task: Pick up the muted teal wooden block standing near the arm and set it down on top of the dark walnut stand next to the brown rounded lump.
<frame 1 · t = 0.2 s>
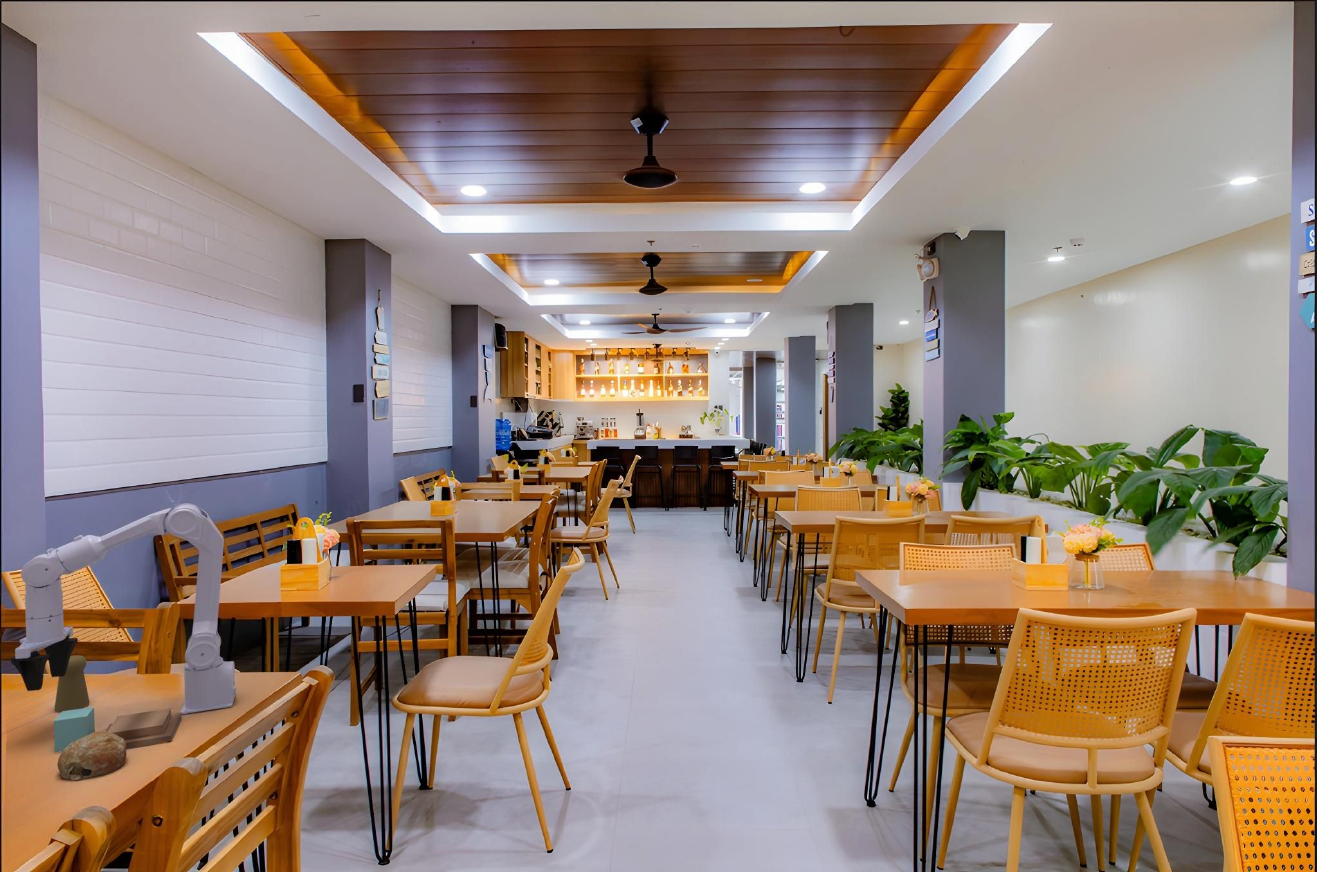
hand: (46, 682, 144), 10 cm above the table, tool pointing down, fingers open, 7 cm apart
teal block: (75, 744, 139), on the table
brown rounded lump: (94, 768, 130), on the table
walnut stand: (140, 735, 142), on the table
cork: (72, 708, 157), on the table
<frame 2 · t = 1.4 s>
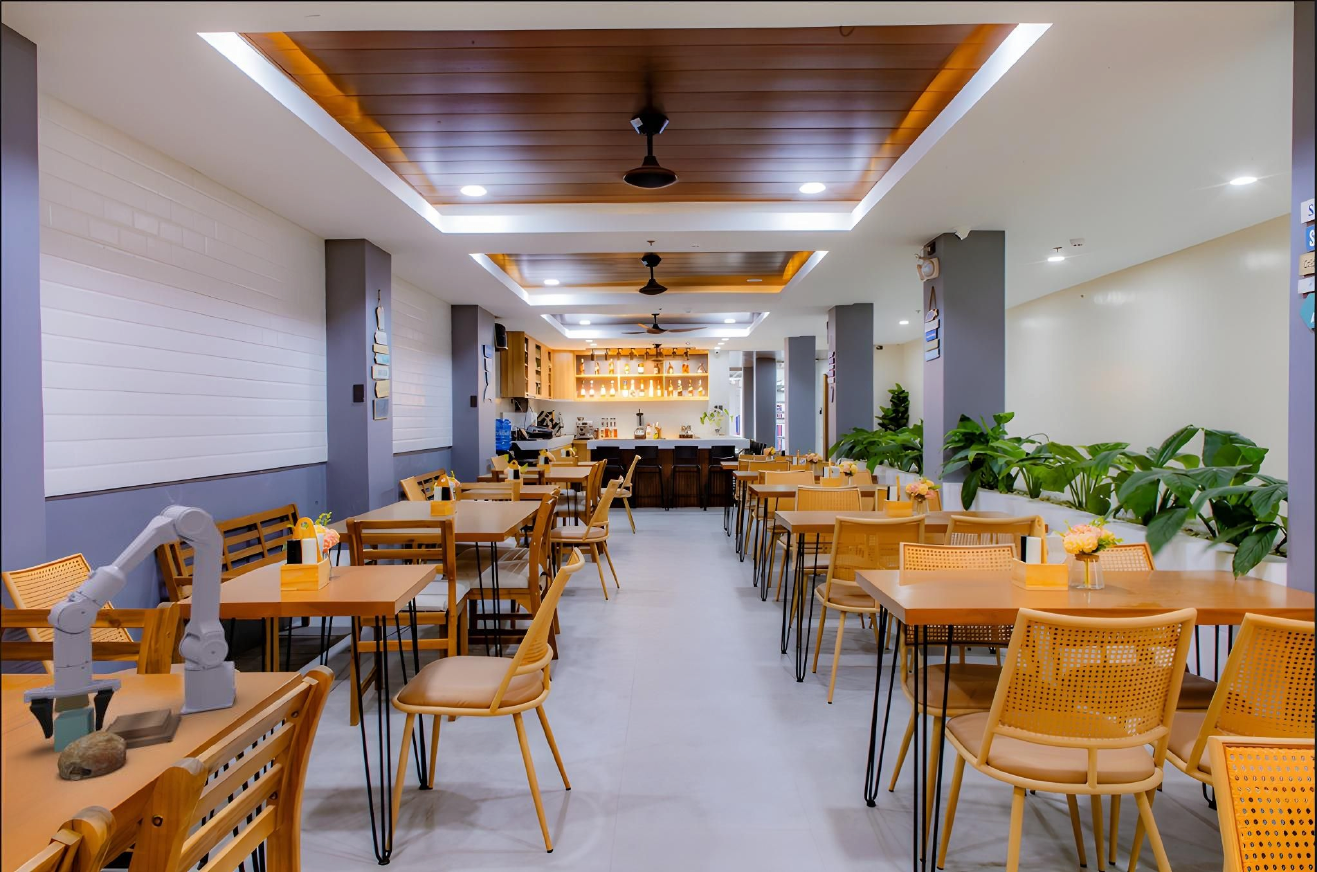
hand: (74, 732, 139), 2 cm above the table, tool pointing down, fingers open, 7 cm apart
nothing on the table moved.
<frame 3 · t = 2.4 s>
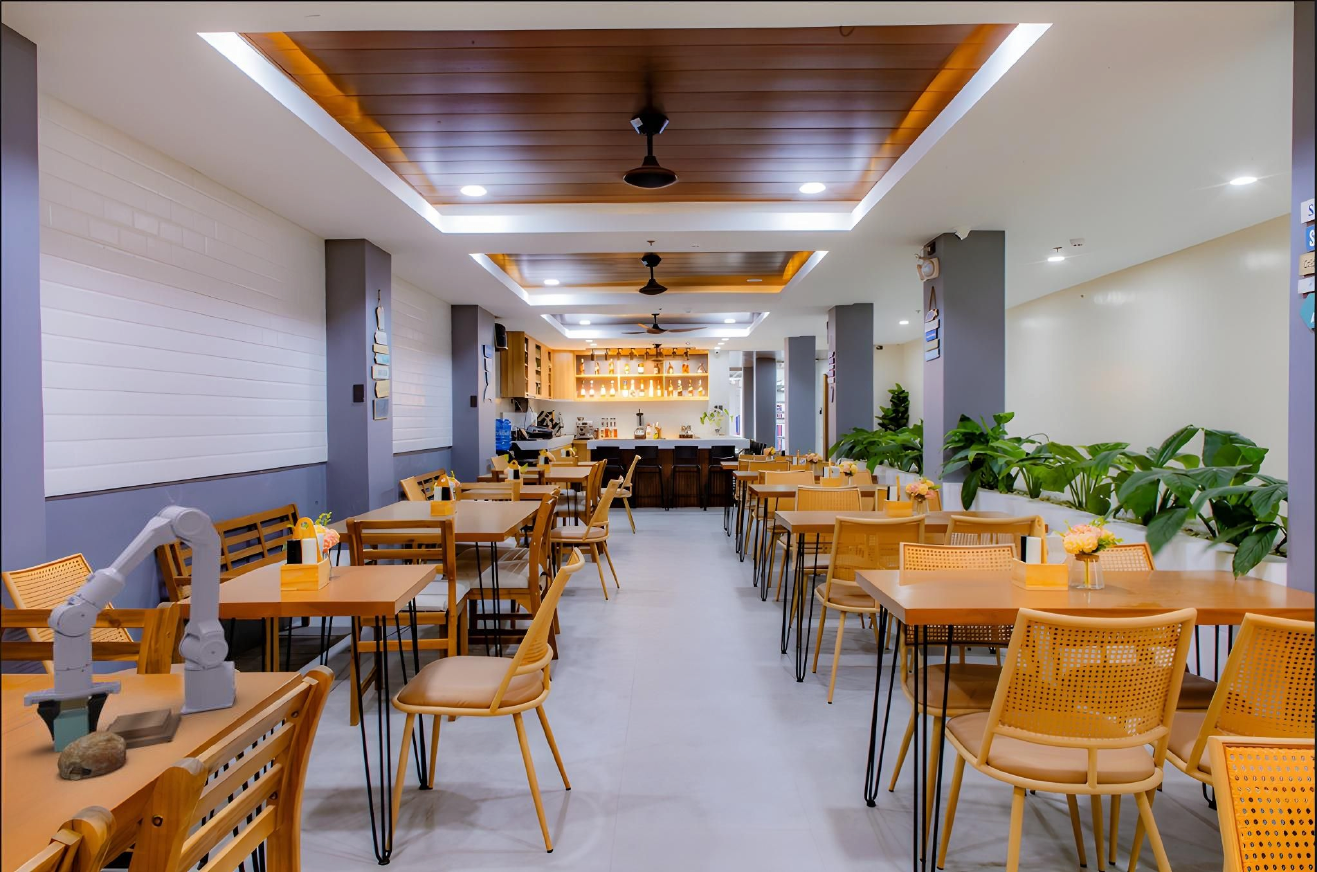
hand: (74, 735, 139), 2 cm above the table, tool pointing down, fingers closed on teal block, 5 cm apart
teal block: (75, 744, 139), on the table, touching gripper
everything else where it was.
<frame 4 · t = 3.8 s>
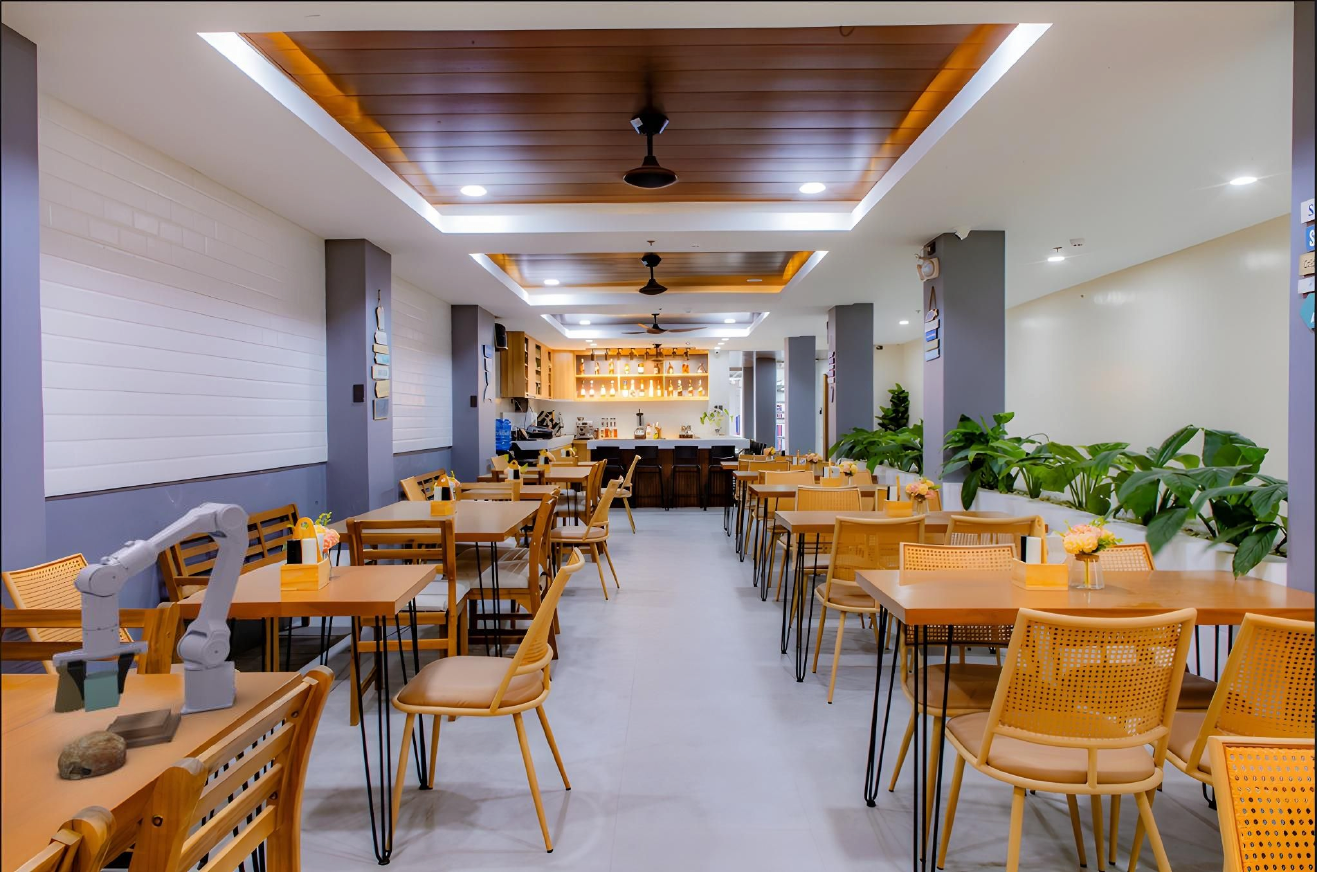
hand: (103, 695, 140), 9 cm above the table, tool pointing down, fingers closed on teal block, 5 cm apart
teal block: (103, 705, 140), point 7 cm above the table, touching gripper
everything else where it was.
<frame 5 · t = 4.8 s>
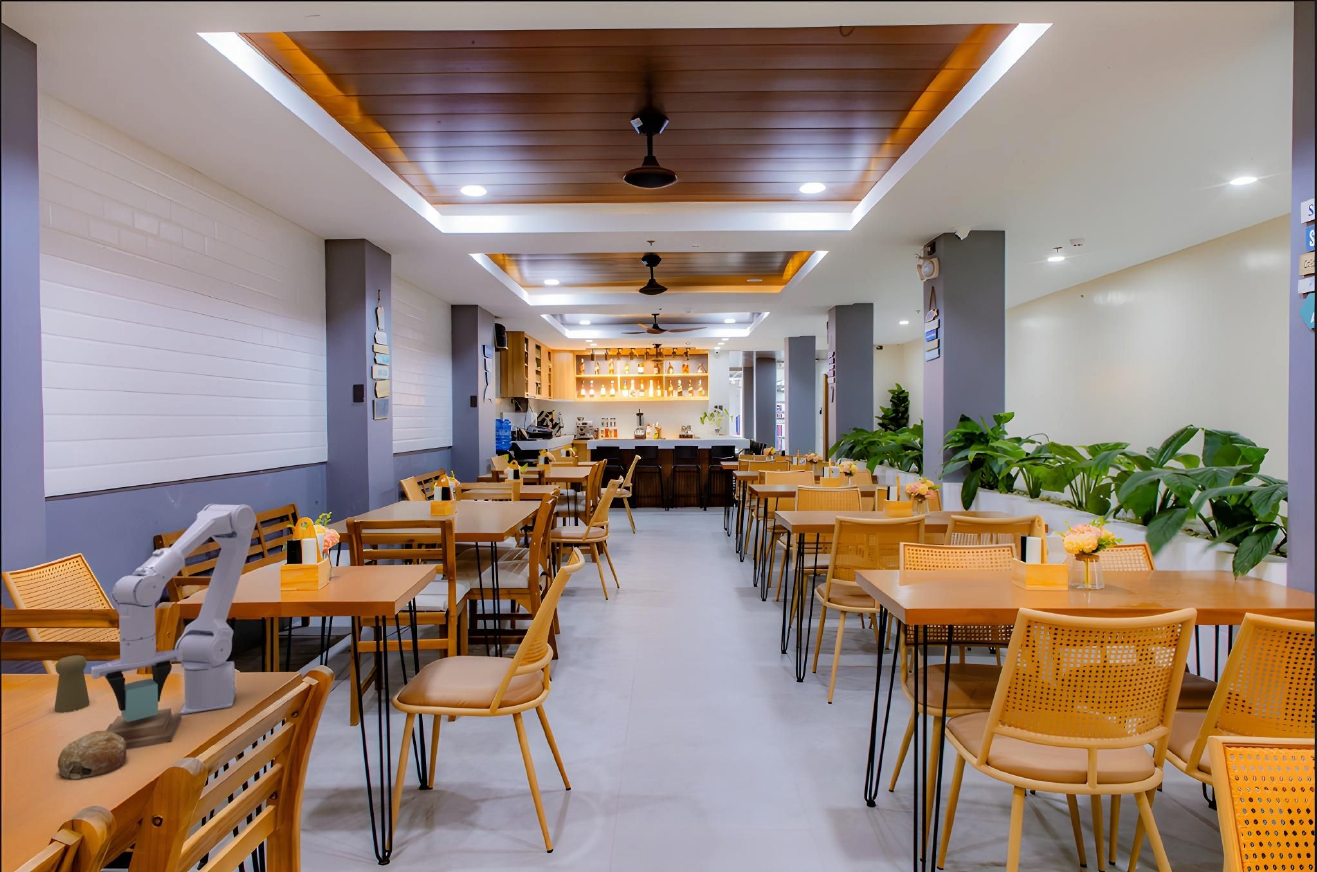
hand: (139, 704, 142), 6 cm above the table, tool pointing down, fingers closed on teal block, 5 cm apart
teal block: (139, 714, 142), point 4 cm above the table, touching gripper
everything else where it was.
when the fingers open (6 cm above the table, at t = 5.5 s): teal block drops 1 cm, resting on walnut stand.
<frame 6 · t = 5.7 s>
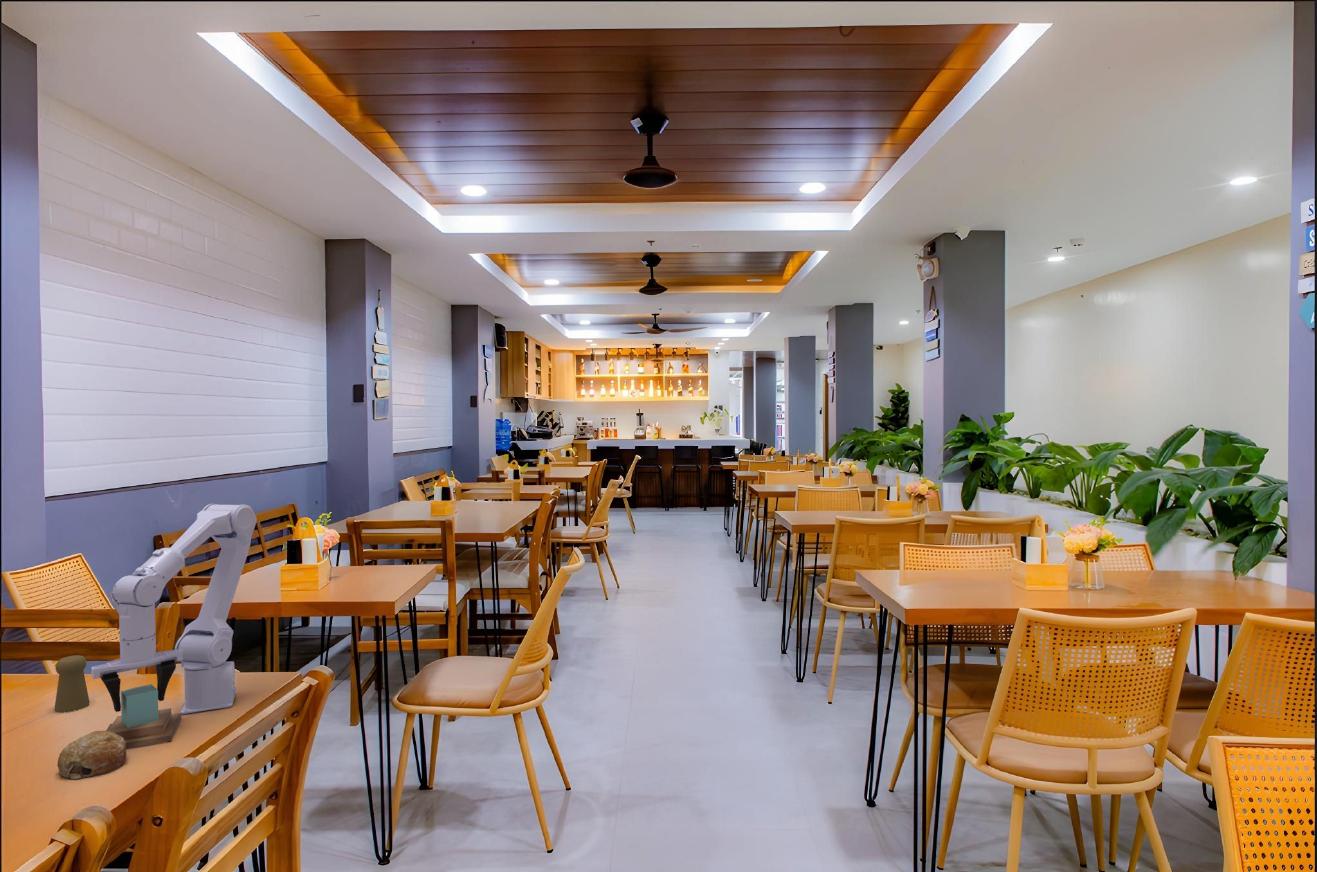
hand: (139, 704, 142), 6 cm above the table, tool pointing down, fingers open, 6 cm apart
teal block: (140, 720, 142), point 3 cm above the table, touching walnut stand
everything else where it was.
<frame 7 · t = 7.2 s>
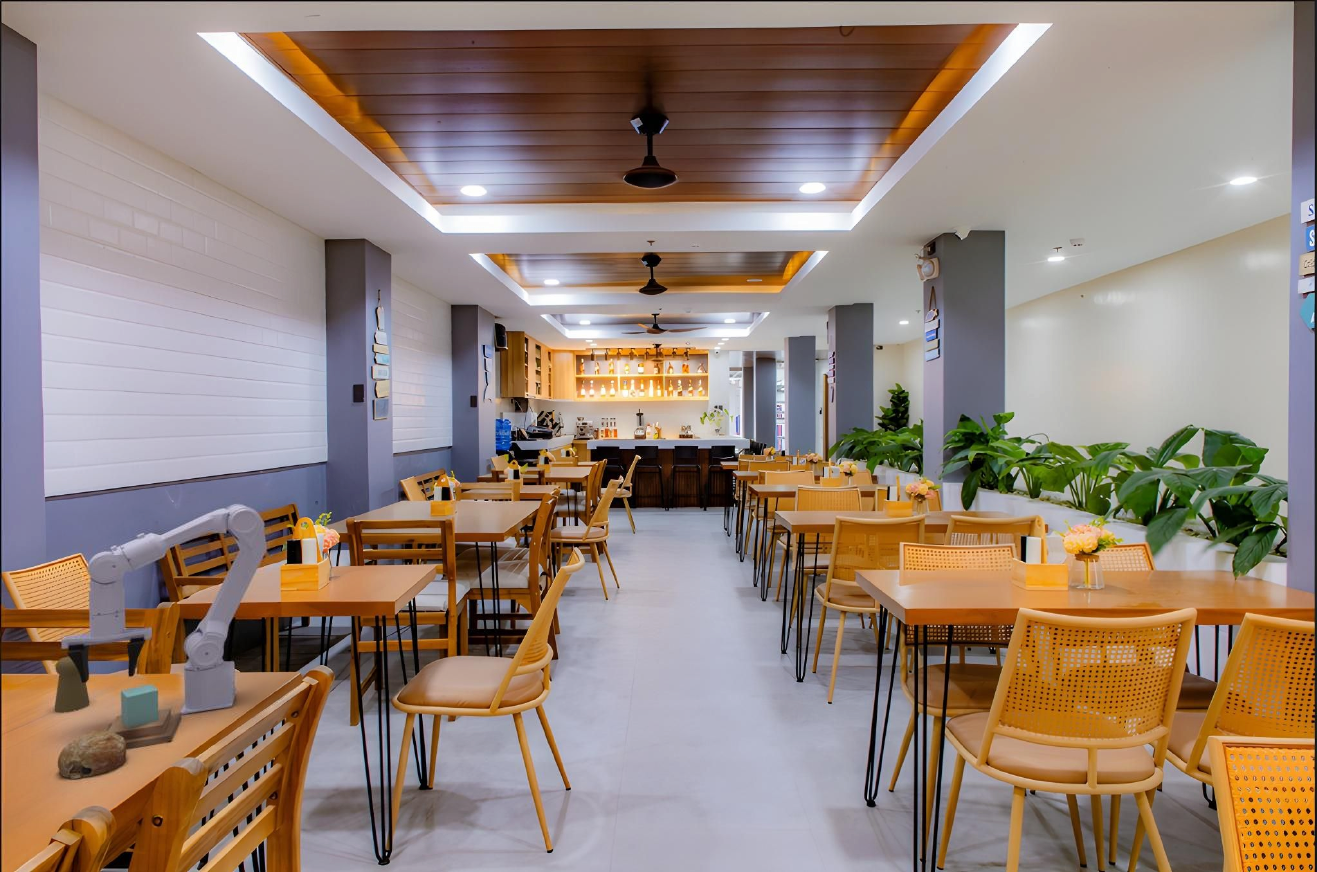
hand: (108, 678, 147), 10 cm above the table, tool pointing down, fingers open, 7 cm apart
nothing on the table moved.
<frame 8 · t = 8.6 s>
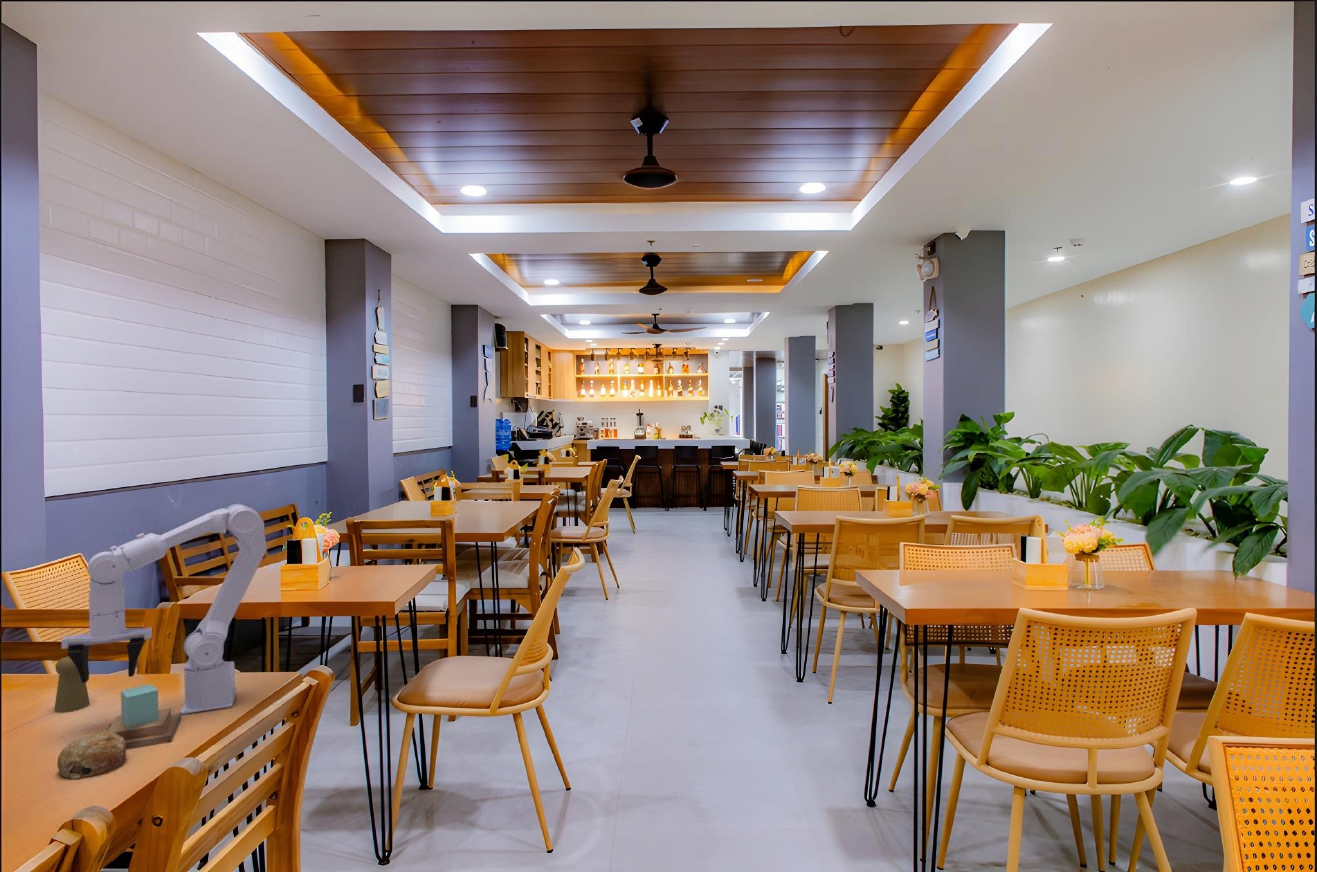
hand: (108, 678, 147), 10 cm above the table, tool pointing down, fingers open, 7 cm apart
nothing on the table moved.
at the end: teal block inside the target area on the walnut stand (0.1 cm from its centre), point 3.0 cm above the walnut stand's base; teal block tilted 0°; the gripper is holding nothing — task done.
